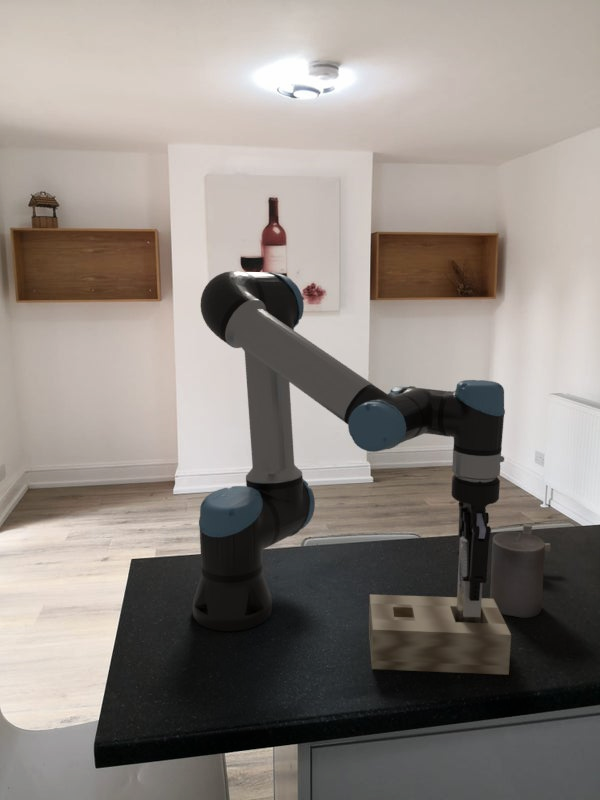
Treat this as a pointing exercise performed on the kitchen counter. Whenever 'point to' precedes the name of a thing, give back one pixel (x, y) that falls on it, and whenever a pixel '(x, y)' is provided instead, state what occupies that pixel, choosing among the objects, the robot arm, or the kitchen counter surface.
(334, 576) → the kitchen counter surface
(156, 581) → the kitchen counter surface
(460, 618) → the pin
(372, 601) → the hole block
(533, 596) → the pillar candle
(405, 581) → the kitchen counter surface
